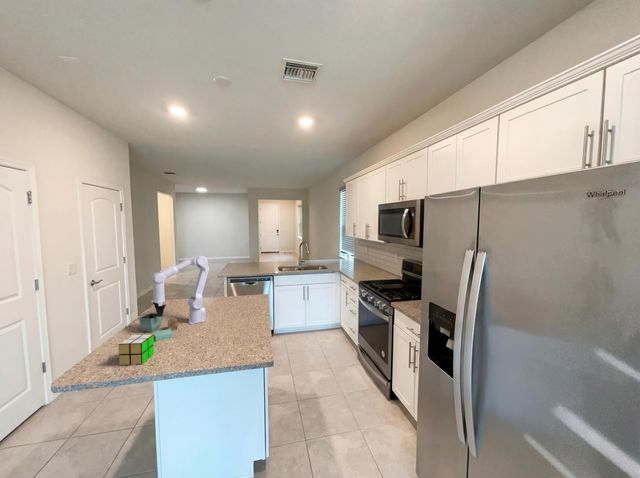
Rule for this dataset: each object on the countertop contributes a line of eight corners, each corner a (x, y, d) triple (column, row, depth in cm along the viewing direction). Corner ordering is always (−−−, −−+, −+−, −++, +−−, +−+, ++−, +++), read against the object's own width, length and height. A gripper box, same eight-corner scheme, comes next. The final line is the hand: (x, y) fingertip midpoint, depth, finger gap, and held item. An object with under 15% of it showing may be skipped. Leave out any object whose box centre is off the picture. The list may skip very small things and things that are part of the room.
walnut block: (176, 327, 160) (176, 318, 160) (177, 329, 156) (177, 320, 156) (167, 328, 157) (167, 320, 157) (168, 331, 153) (168, 322, 153)
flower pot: (151, 334, 149) (151, 319, 148) (138, 332, 151) (138, 317, 150) (163, 328, 157) (163, 314, 157) (151, 327, 159) (151, 313, 159)
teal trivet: (170, 333, 151) (170, 328, 151) (172, 338, 144) (172, 333, 144) (154, 337, 146) (154, 332, 146) (155, 342, 139) (155, 336, 139)
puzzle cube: (132, 354, 125) (132, 334, 125) (154, 353, 126) (153, 334, 125) (118, 365, 115) (118, 343, 115) (141, 364, 116) (141, 343, 116)
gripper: (150, 291, 157) (150, 312, 157) (152, 296, 145) (152, 319, 146) (163, 289, 161) (164, 310, 162) (166, 294, 150) (167, 317, 150)
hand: (159, 314), depth 154 cm, fingers open, 7 cm apart
